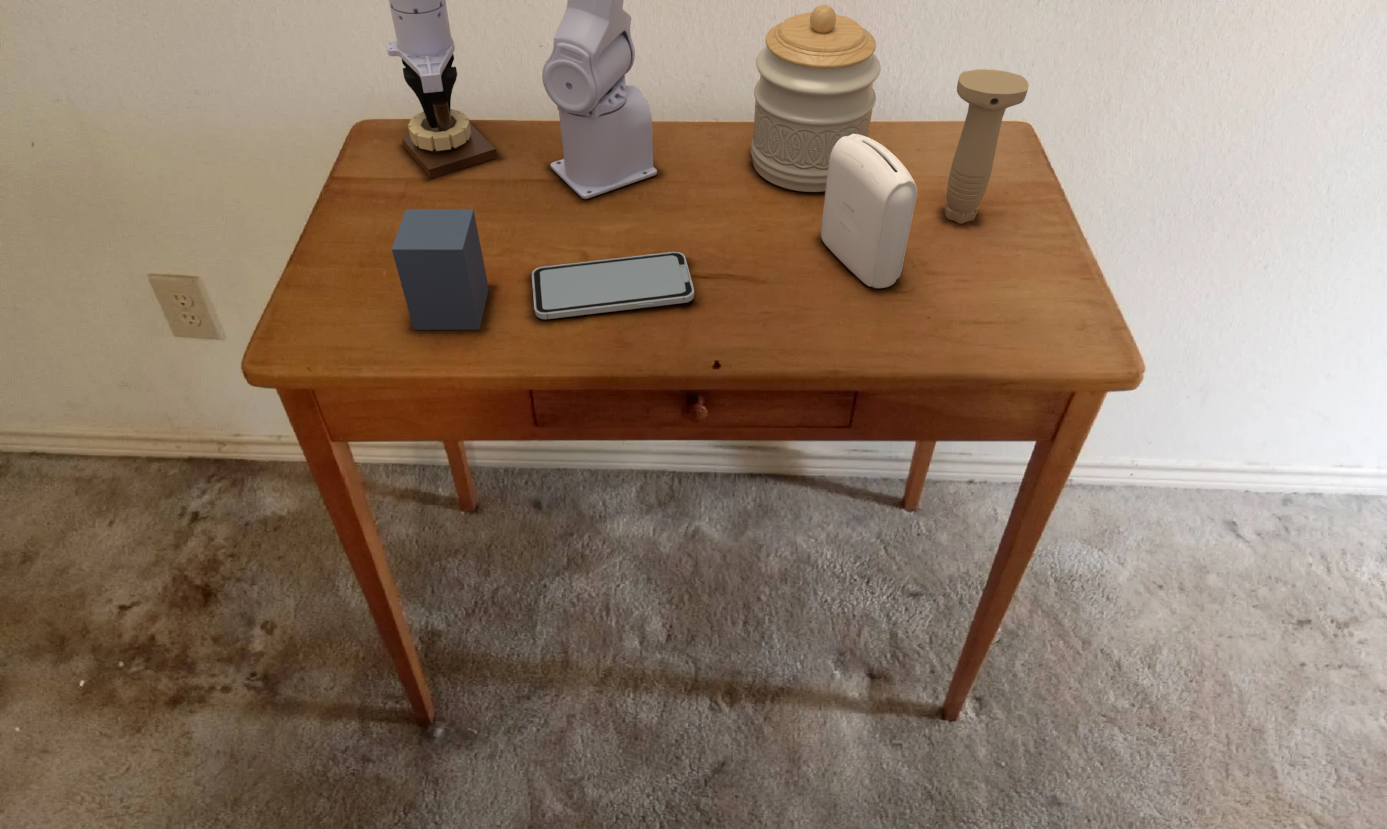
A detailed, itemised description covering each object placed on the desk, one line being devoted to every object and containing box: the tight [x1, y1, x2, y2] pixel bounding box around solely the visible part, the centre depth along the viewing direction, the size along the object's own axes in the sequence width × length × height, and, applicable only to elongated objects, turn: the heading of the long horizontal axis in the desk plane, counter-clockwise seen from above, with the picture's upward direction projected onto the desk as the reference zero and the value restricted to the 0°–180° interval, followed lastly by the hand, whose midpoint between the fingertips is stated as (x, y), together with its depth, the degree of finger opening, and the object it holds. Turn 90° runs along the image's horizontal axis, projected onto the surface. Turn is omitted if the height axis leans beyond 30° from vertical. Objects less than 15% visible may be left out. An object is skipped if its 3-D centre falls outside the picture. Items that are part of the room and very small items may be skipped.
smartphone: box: [531, 251, 695, 320], centre depth 88 cm, size 7×1×15 cm
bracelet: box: [407, 108, 471, 151], centre depth 104 cm, size 7×7×2 cm
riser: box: [391, 208, 490, 331], centre depth 83 cm, size 6×6×9 cm
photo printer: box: [820, 134, 918, 289], centre depth 87 cm, size 10×4×12 cm, turn 26°
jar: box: [750, 4, 882, 193], centre depth 98 cm, size 13×13×18 cm
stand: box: [401, 99, 498, 179], centre depth 103 cm, size 8×8×6 cm
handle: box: [944, 68, 1030, 225], centre depth 92 cm, size 5×6×15 cm
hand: (439, 121), depth 106 cm, fingers closed on bracelet, 2 cm apart
